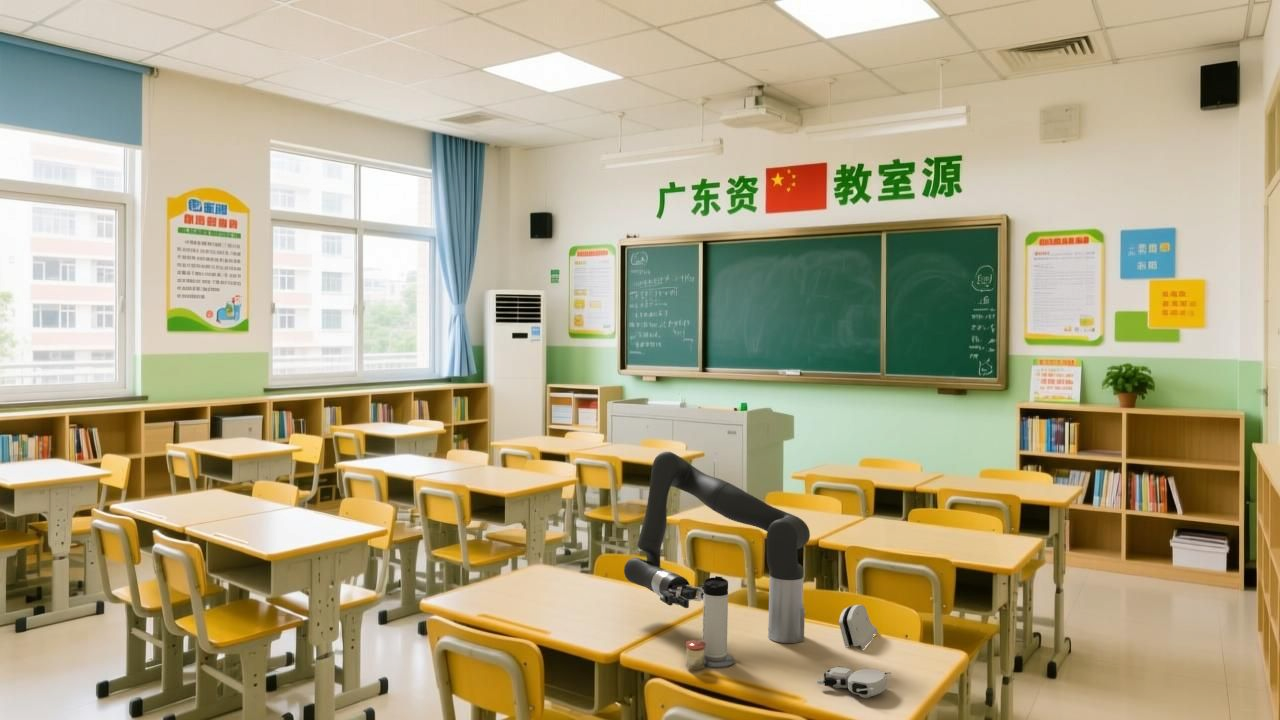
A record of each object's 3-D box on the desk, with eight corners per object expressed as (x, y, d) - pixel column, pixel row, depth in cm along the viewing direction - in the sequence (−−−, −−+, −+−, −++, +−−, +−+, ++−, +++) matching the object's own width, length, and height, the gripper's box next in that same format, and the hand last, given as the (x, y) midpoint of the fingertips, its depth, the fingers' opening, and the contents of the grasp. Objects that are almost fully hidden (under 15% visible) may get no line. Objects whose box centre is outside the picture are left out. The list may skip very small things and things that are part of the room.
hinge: (863, 650, 232) (851, 613, 233) (847, 653, 234) (835, 616, 235) (878, 632, 246) (867, 597, 248) (862, 635, 249) (851, 601, 250)
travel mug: (729, 654, 225) (731, 577, 224) (723, 663, 218) (725, 584, 218) (706, 651, 227) (707, 574, 226) (699, 660, 220) (700, 581, 220)
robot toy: (814, 694, 205) (876, 706, 196) (813, 675, 205) (875, 686, 196) (834, 678, 215) (894, 688, 206) (834, 659, 215) (893, 669, 206)
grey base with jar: (710, 651, 229) (711, 626, 229) (742, 660, 223) (742, 635, 223) (673, 666, 218) (673, 641, 218) (705, 677, 211) (705, 651, 211)
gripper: (648, 575, 238) (678, 591, 224) (692, 570, 245) (724, 584, 231) (647, 603, 239) (678, 620, 224) (691, 596, 245) (724, 612, 231)
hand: (701, 602), depth 228 cm, fingers open, 8 cm apart
